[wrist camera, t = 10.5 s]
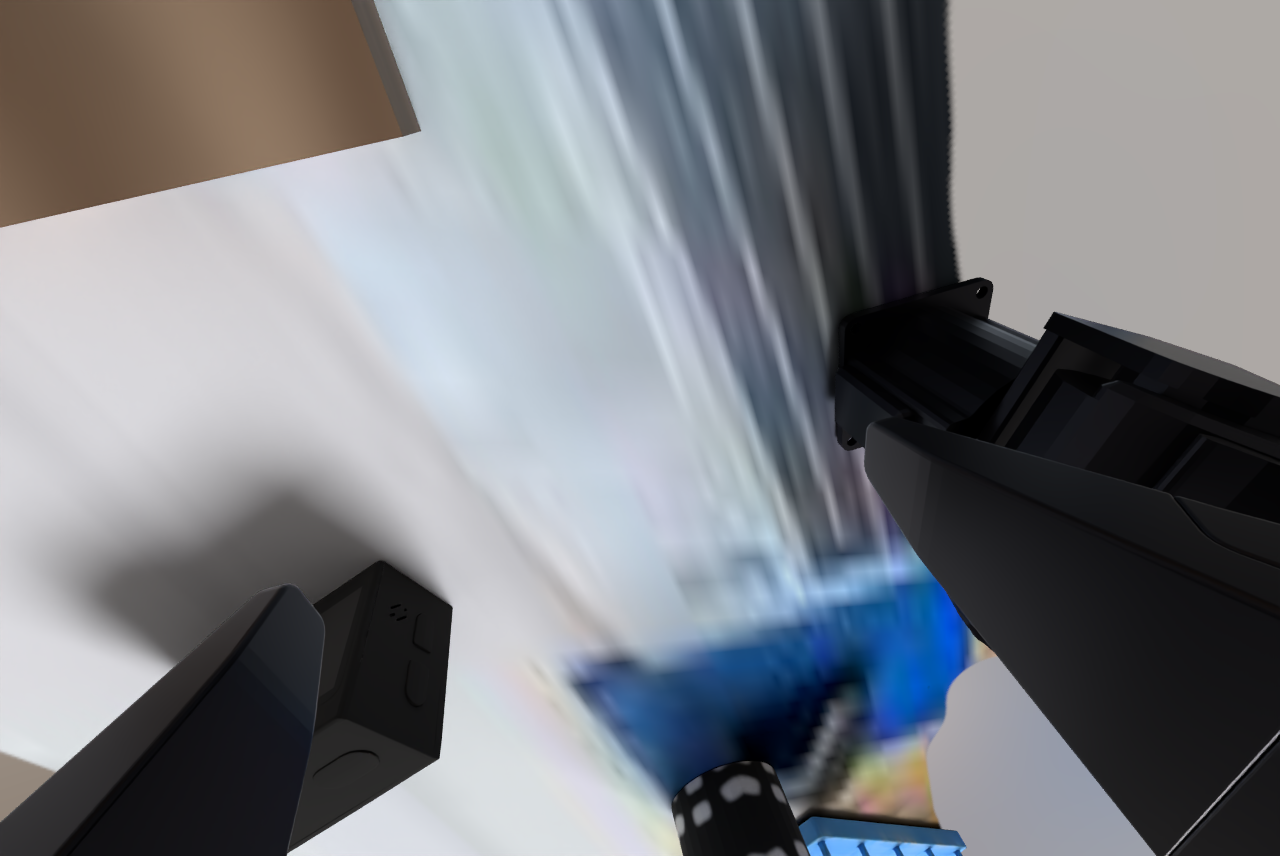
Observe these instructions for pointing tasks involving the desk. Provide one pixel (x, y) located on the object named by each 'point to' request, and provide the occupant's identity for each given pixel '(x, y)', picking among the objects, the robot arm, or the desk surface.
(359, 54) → the walnut block
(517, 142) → the desk surface
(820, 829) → the file sorter
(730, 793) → the spotted tube
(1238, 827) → the robot arm
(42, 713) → the desk surface
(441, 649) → the digital camera
